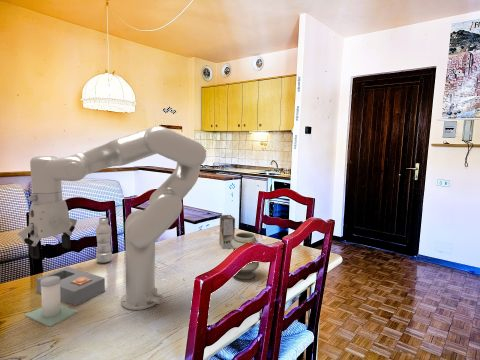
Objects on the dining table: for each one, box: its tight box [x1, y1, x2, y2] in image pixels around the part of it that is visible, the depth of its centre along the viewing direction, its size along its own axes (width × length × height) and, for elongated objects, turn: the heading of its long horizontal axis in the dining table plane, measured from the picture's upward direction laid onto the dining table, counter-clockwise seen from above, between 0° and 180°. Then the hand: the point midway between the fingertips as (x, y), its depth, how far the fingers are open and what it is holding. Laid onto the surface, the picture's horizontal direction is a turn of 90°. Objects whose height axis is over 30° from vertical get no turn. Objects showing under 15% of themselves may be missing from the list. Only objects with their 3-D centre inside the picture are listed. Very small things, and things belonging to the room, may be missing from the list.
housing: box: [35, 266, 106, 307], centre depth 111 cm, size 20×12×5 cm, turn 65°
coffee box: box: [218, 214, 236, 250], centre depth 165 cm, size 9×6×16 cm
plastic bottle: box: [95, 217, 113, 264], centre depth 137 cm, size 6×7×20 cm
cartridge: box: [40, 276, 62, 318], centre depth 96 cm, size 5×5×11 cm
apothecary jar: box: [231, 231, 260, 282], centre depth 128 cm, size 12×12×18 cm
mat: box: [24, 304, 79, 328], centre depth 96 cm, size 12×9×1 cm
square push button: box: [72, 277, 91, 286], centre depth 108 cm, size 4×4×6 cm
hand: (51, 252), depth 94 cm, fingers open, 9 cm apart
